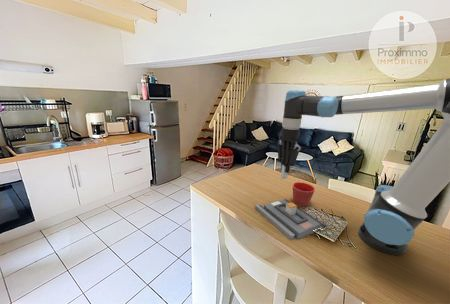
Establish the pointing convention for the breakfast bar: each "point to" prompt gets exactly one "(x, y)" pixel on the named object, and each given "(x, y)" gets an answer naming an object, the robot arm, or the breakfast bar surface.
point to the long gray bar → (310, 216)
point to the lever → (291, 208)
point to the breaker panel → (292, 219)
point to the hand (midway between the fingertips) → (283, 178)
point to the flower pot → (302, 193)
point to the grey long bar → (276, 222)
